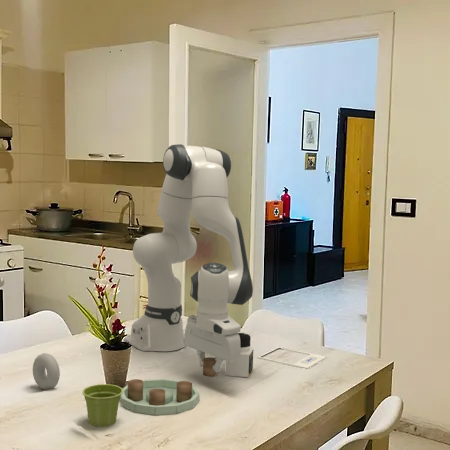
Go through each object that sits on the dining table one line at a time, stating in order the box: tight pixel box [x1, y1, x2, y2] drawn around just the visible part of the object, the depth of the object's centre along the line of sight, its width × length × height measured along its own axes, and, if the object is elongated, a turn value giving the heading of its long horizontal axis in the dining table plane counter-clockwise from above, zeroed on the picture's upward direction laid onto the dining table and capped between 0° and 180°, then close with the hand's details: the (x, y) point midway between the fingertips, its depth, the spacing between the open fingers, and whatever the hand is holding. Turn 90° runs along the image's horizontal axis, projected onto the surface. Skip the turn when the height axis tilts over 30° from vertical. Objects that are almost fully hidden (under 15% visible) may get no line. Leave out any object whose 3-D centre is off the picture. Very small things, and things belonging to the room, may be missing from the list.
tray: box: [119, 378, 200, 416], centre depth 169 cm, size 20×20×3 cm
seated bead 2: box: [149, 389, 165, 406], centre depth 163 cm, size 4×4×4 cm
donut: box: [32, 352, 61, 391], centre depth 177 cm, size 10×4×10 cm, turn 50°
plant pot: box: [82, 383, 123, 428], centre depth 154 cm, size 9×9×9 cm
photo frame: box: [256, 346, 328, 370], centre depth 212 cm, size 15×1×18 cm
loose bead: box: [176, 380, 193, 403], centre depth 169 cm, size 4×4×4 cm
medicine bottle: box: [225, 332, 254, 378], centre depth 195 cm, size 7×7×12 cm
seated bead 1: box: [127, 378, 143, 402], centre depth 169 cm, size 4×4×4 cm
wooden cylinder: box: [202, 356, 218, 378], centre depth 185 cm, size 4×4×4 cm
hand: (209, 368), depth 185 cm, fingers closed on wooden cylinder, 4 cm apart
